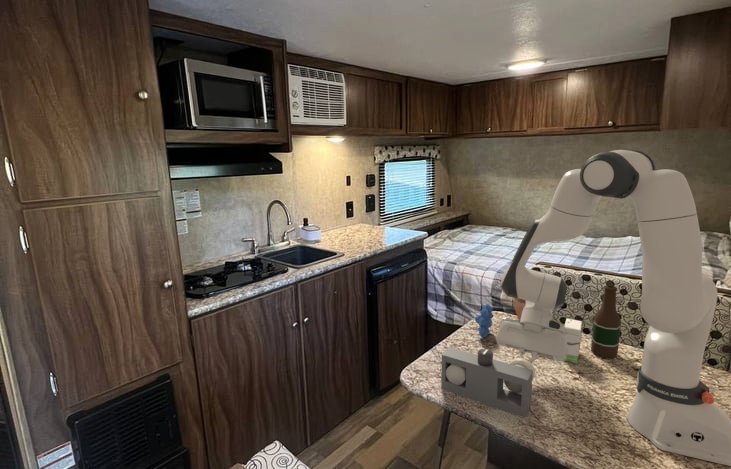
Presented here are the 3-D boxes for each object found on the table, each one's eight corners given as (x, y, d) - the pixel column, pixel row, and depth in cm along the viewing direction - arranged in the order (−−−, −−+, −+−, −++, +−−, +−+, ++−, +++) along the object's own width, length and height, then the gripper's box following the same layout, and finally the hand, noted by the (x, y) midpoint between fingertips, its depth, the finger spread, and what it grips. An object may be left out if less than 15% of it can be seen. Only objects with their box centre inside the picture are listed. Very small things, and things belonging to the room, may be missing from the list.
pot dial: (494, 361, 108) (495, 350, 108) (489, 367, 105) (490, 356, 104) (480, 357, 111) (480, 346, 110) (475, 363, 107) (475, 352, 107)
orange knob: (476, 377, 116) (477, 355, 114) (466, 390, 109) (467, 367, 108) (453, 370, 120) (454, 348, 119) (443, 382, 114) (443, 360, 112)
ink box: (578, 364, 126) (581, 330, 124) (561, 360, 129) (563, 327, 127) (579, 352, 134) (582, 320, 131) (563, 349, 136) (566, 317, 134)
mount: (530, 407, 106) (532, 370, 103) (525, 418, 101) (527, 380, 99) (448, 380, 119) (449, 346, 117) (441, 388, 115) (441, 354, 113)
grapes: (478, 327, 155) (479, 298, 153) (495, 330, 151) (497, 301, 149) (469, 338, 145) (469, 308, 143) (487, 343, 142) (488, 312, 139)
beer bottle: (617, 351, 134) (624, 284, 129) (617, 361, 127) (625, 292, 122) (591, 346, 138) (597, 281, 133) (589, 355, 131) (596, 288, 126)
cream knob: (534, 384, 112) (536, 361, 110) (527, 399, 105) (529, 375, 104) (508, 377, 116) (510, 355, 114) (500, 390, 109) (501, 367, 108)
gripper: (499, 312, 126) (488, 352, 120) (570, 326, 114) (561, 372, 108) (503, 320, 130) (492, 359, 124) (571, 335, 118) (563, 379, 113)
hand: (525, 365), depth 116 cm, fingers closed
